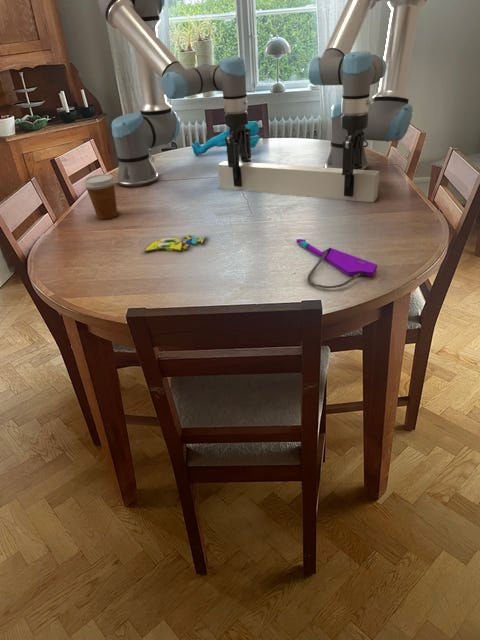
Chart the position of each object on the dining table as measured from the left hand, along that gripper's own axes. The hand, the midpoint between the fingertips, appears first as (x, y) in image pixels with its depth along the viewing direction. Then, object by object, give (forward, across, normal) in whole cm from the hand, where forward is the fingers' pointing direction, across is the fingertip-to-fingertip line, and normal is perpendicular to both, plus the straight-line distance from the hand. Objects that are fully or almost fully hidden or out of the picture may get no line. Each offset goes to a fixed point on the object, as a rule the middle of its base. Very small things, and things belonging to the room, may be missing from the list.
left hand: (241, 183), depth 167 cm
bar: (+2, 0, -20) cm, 20 cm away
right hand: (0, 0, -39) cm, 39 cm away
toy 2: (+2, +41, +29) cm, 50 cm away
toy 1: (+1, -48, -5) cm, 49 cm away
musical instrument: (+1, -48, -47) cm, 67 cm away
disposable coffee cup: (+2, -36, +30) cm, 47 cm away
